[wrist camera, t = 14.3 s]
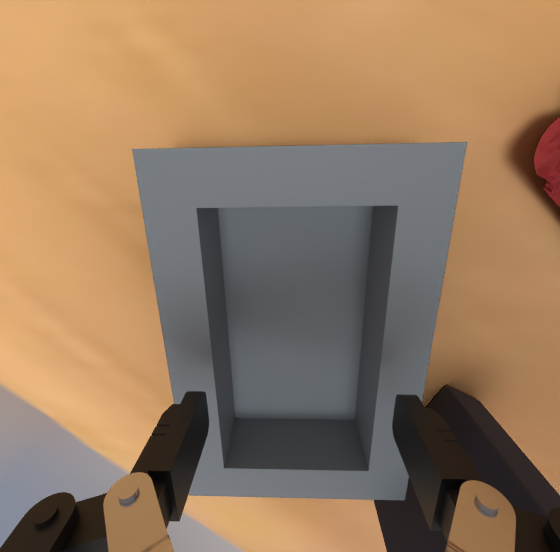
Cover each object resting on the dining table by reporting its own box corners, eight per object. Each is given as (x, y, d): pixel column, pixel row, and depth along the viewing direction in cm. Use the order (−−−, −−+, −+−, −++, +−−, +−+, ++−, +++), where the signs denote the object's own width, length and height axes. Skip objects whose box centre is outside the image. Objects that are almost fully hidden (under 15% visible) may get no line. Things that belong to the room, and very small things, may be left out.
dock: (416, 152, 17) (467, 142, 12) (381, 435, 23) (404, 500, 19) (175, 157, 17) (132, 148, 12) (209, 432, 24) (189, 495, 19)
